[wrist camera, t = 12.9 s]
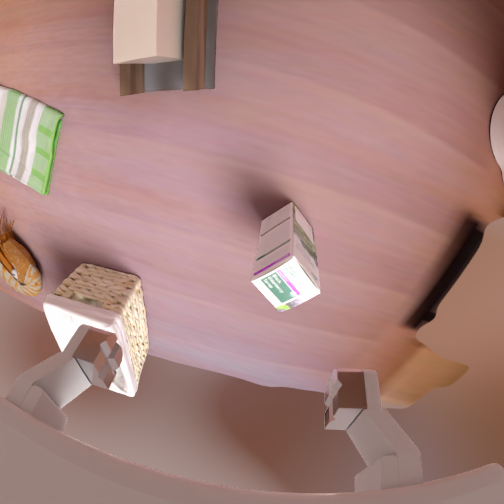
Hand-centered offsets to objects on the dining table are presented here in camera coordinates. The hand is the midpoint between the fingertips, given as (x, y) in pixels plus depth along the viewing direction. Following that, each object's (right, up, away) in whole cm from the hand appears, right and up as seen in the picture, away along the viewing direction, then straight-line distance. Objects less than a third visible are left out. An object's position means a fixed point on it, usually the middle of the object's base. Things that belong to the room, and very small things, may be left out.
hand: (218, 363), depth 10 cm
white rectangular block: (-9, +36, +16) cm, 40 cm away
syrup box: (+6, +8, +34) cm, 35 cm away
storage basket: (-27, -8, +49) cm, 57 cm away
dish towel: (-43, +26, +30) cm, 58 cm away
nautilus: (-53, +5, +44) cm, 69 cm away
